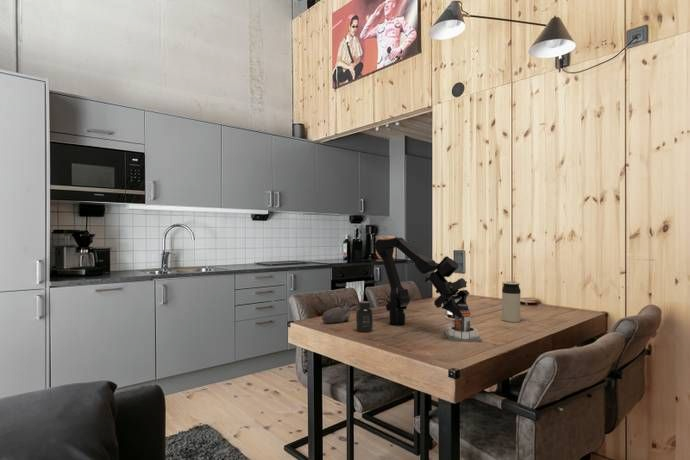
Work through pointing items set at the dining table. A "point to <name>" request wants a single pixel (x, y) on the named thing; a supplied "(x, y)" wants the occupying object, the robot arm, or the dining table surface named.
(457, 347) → the dining table surface
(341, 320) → the perforated stone tool
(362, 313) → the supplement bottle
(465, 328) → the supplement bottle
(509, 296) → the travel mug
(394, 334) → the dining table surface
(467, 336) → the collar
